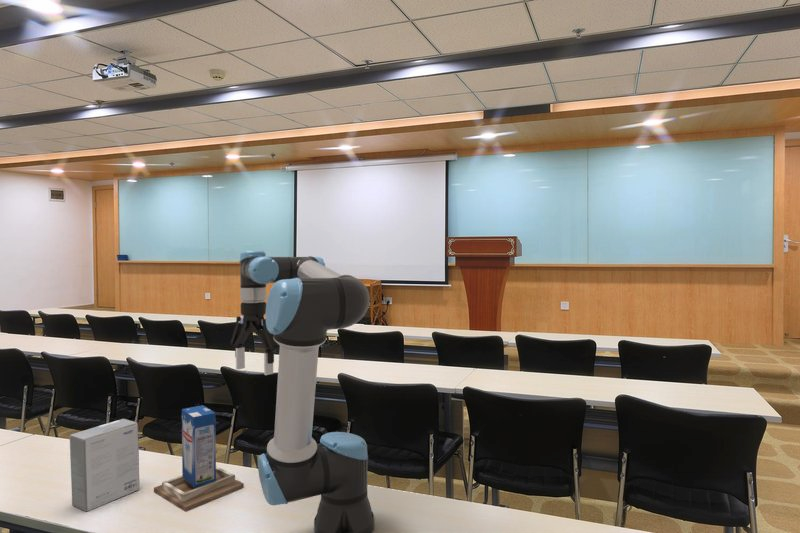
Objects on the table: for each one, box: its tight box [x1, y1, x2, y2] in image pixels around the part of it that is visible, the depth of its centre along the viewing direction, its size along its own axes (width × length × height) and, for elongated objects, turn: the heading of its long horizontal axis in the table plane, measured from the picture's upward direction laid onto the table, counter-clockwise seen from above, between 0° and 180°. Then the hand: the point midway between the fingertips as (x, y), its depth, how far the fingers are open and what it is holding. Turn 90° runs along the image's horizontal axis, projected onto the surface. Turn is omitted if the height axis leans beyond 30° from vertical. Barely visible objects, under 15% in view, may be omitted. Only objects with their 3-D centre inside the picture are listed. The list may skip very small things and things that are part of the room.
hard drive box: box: [69, 418, 141, 513], centre depth 143 cm, size 16×8×20 cm, turn 149°
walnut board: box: [153, 465, 245, 512], centre depth 148 cm, size 18×18×3 cm
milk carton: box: [181, 404, 217, 488], centre depth 148 cm, size 10×6×20 cm, turn 41°
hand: (254, 371), depth 154 cm, fingers open, 13 cm apart
